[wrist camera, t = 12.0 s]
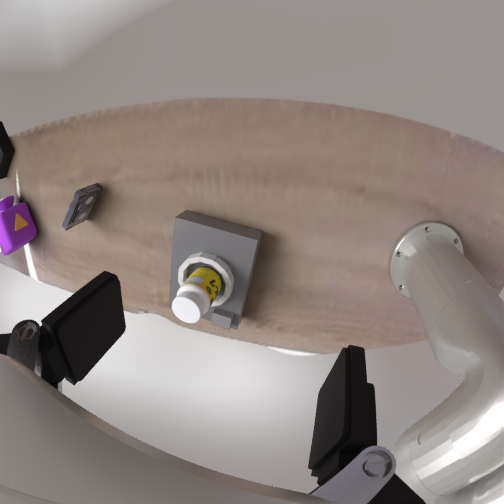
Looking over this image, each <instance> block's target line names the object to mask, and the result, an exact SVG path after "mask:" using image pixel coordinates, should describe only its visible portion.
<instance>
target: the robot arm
mask: <svg viewBox="0 0 504 504" xmlns="http://www.w3.org/2000/svg"><path fill="white" fill-rule="evenodd" d="M426 227H427V228H426ZM425 228H426V229H425ZM454 239H455V240H454ZM397 252H399V253H397ZM390 275H391V278H392V281H393V283H394V286H395V287H396V289H397V290H398V291H399V292H400V293H401V294H402V295H403V296H405V297H407V298H409V299H412V301H413V303H414V306H415V308H416V310H417V313H418V315H419V318H420V320H421V323H422V325H423V328H424V330H425V333H426V335H427V338H428V341H429V343H430V346H431V349H432V351H433V354H434V356H435V358H436V360H437V362H438V363H439V365H440V366H441V367H442V368H443V369H444V370H446V371H448V372H450V373H452V374H455V375H458V376H462V377H465V379H464V380H463V382H462V383H461V385H460V386H459V387H458V388H457V389H456V390H455V391H453V392H452V393H451V394H450V395H449V397H448V398H446V399H445V400H444V401H443V402H442V403H441V404H439V405H438V406H437V407H436V408H434V409H433V410H432V411H431V412H429V413H428V414H427V415H425V416H424V417H423V418H421V419H420V420H419V421H417V422H416V423H415V424H413V425H412V426H411V427H410V428H408V429H407V430H406V431H405V432H404V433H403V434H402V435H401V436H400V437H399V438H398V439H397V441H396V442H395V444H394V446H393V448H392V451H391V452H390V451H389V450H388V449H386V448H384V447H381V446H377V423H376V404H375V390H374V385H373V384H370V383H367V375H366V361H365V350H364V348H362V347H358V346H353V345H349V346H348V347H347V348H343V349H342V350H341V352H340V354H339V356H338V358H337V360H336V362H335V364H334V366H333V368H332V369H331V371H330V373H329V375H328V376H327V378H326V380H325V382H324V384H323V386H322V388H321V389H320V391H319V394H318V400H317V409H316V417H315V425H314V432H313V439H312V446H311V452H310V458H309V465H308V468H309V469H312V474H311V476H315V477H318V481H317V484H318V485H319V486H318V487H316V488H315V489H314V490H312V491H311V492H310V493H308V494H305V493H301V492H296V491H291V490H287V489H282V488H278V487H273V486H268V485H264V484H260V483H256V482H252V481H248V480H244V479H241V478H237V477H234V476H230V475H227V474H224V473H220V472H217V471H214V470H211V469H208V468H205V467H202V466H199V465H196V464H194V463H191V462H188V461H186V460H183V459H181V458H178V457H176V456H173V455H171V454H169V453H166V452H164V451H162V450H159V449H157V448H155V447H153V446H151V445H149V444H147V443H144V442H142V441H140V440H138V439H136V438H134V437H132V436H130V435H128V434H126V433H125V432H123V431H121V430H119V429H117V428H116V427H114V426H112V425H110V424H109V423H107V422H105V421H103V420H102V419H100V418H98V417H97V416H95V415H93V414H92V413H90V412H89V411H87V410H86V409H84V408H83V407H81V406H79V405H78V404H77V403H75V402H74V401H72V400H71V399H69V398H68V397H66V396H65V395H64V394H62V380H63V379H64V378H65V379H66V380H67V381H69V382H70V383H72V384H73V385H75V384H76V383H77V382H78V381H81V380H82V379H83V378H84V377H85V376H86V375H87V374H88V372H89V371H90V370H91V369H92V368H93V367H94V366H95V364H96V363H97V362H98V361H99V360H100V359H101V358H102V357H103V356H104V354H105V353H106V352H107V351H108V350H109V349H110V348H111V347H112V345H113V344H114V343H115V342H116V341H117V340H118V339H119V338H120V337H121V335H122V334H123V333H124V331H125V328H126V325H125V318H124V311H123V304H122V296H121V287H120V281H119V280H118V277H117V275H115V274H112V273H110V272H107V271H104V272H102V273H101V274H99V275H98V276H97V277H95V278H94V279H93V280H91V281H90V282H89V283H87V284H86V285H85V286H83V287H82V288H81V289H80V290H78V291H77V292H76V293H74V294H73V295H72V296H71V297H69V298H68V299H67V300H66V301H64V302H63V303H62V304H61V305H59V306H58V307H57V308H56V309H55V310H53V311H52V312H51V313H50V314H48V315H47V316H46V317H45V318H44V319H43V320H41V322H42V326H39V324H38V323H37V322H36V321H34V320H23V321H21V322H19V323H18V324H17V325H15V327H14V328H13V330H12V333H9V334H0V504H504V302H503V300H502V299H501V298H500V297H499V295H498V294H497V293H496V292H495V291H494V290H493V288H492V287H491V286H490V285H489V283H488V282H487V281H486V280H485V279H484V277H483V276H482V275H481V274H480V273H479V272H478V271H477V269H476V268H475V267H474V266H473V265H472V264H471V263H470V262H469V261H468V259H467V258H466V257H465V256H464V250H463V245H462V242H461V240H460V238H459V236H458V235H457V233H456V232H455V231H454V230H453V229H451V228H450V227H449V226H447V225H445V224H443V223H441V222H435V221H432V222H424V223H420V224H418V225H416V226H414V227H412V228H411V229H409V230H408V231H407V232H406V233H405V234H404V235H403V236H402V237H401V238H400V239H399V241H398V242H397V243H396V245H395V247H394V249H393V251H392V255H391V258H390Z"/></svg>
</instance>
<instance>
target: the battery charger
mask: <svg viewBox="0 0 504 504" xmlns="http://www.w3.org/2000/svg"><path fill="white" fill-rule="evenodd" d="M8 137H9V136H8V134H7V132H6V130H5V127H4V125H3V123H2V122H1V121H0V179H3V178H5V177H6V176H7V172H8V169H9V166H10V163H11V160H12V157H13V154H14V149H13V147H12V145H11V142H10V140H9V138H8Z"/></svg>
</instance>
